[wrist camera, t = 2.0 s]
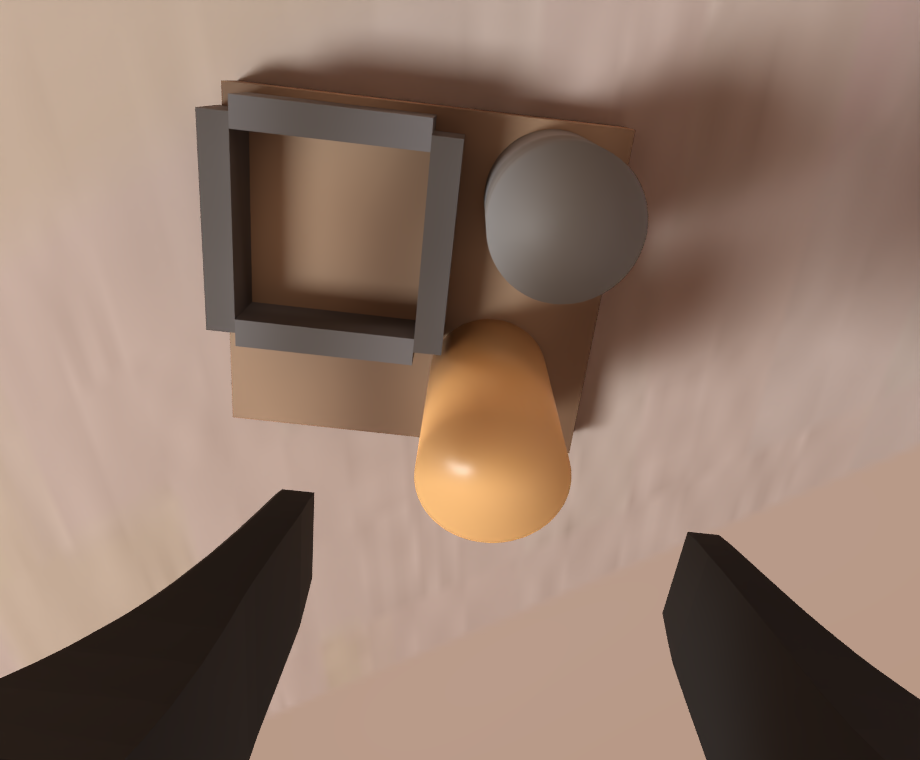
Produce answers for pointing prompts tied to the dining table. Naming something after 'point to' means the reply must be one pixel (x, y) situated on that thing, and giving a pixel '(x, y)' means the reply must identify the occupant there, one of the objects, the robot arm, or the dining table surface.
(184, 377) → the dining table surface
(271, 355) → the housing
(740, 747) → the robot arm
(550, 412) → the orange capsule
